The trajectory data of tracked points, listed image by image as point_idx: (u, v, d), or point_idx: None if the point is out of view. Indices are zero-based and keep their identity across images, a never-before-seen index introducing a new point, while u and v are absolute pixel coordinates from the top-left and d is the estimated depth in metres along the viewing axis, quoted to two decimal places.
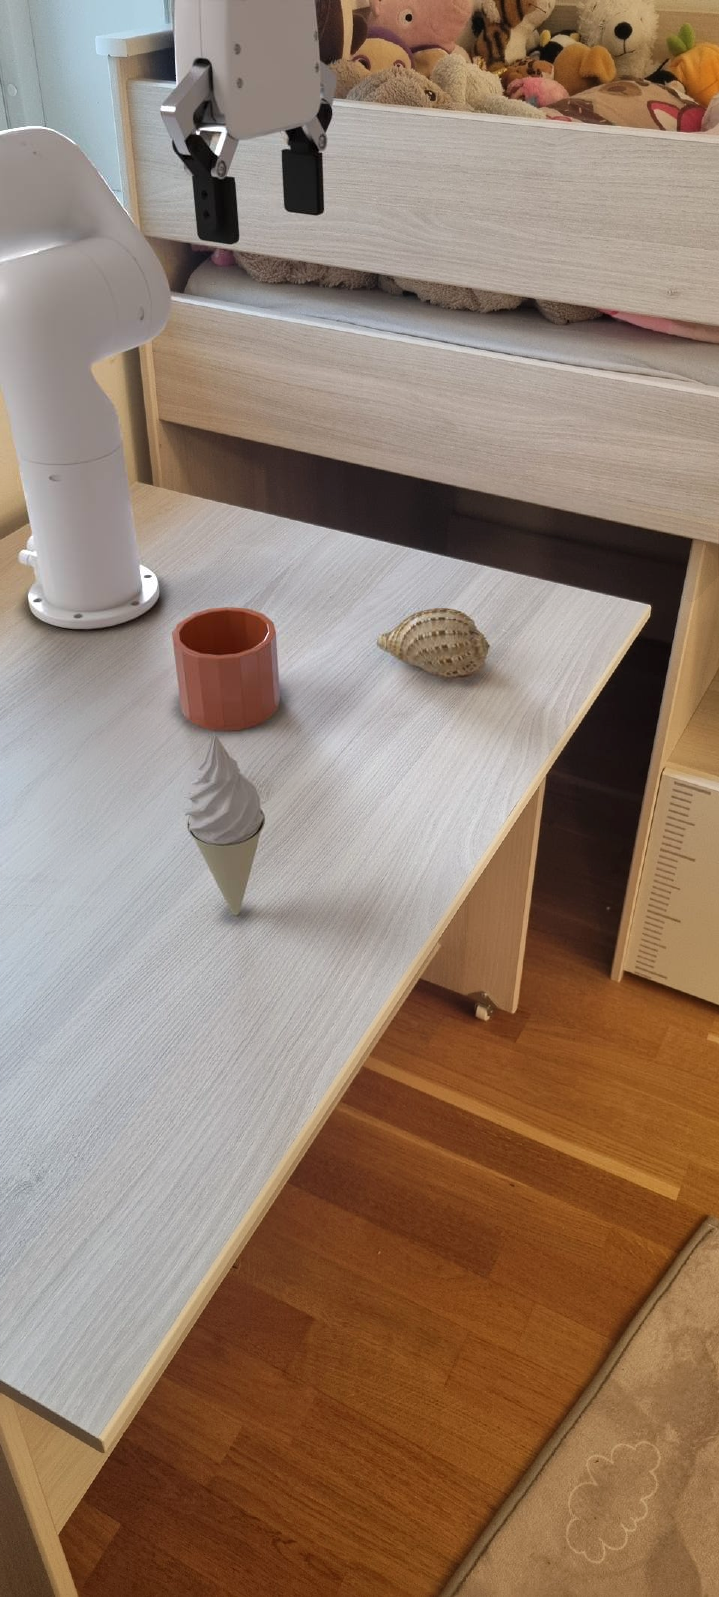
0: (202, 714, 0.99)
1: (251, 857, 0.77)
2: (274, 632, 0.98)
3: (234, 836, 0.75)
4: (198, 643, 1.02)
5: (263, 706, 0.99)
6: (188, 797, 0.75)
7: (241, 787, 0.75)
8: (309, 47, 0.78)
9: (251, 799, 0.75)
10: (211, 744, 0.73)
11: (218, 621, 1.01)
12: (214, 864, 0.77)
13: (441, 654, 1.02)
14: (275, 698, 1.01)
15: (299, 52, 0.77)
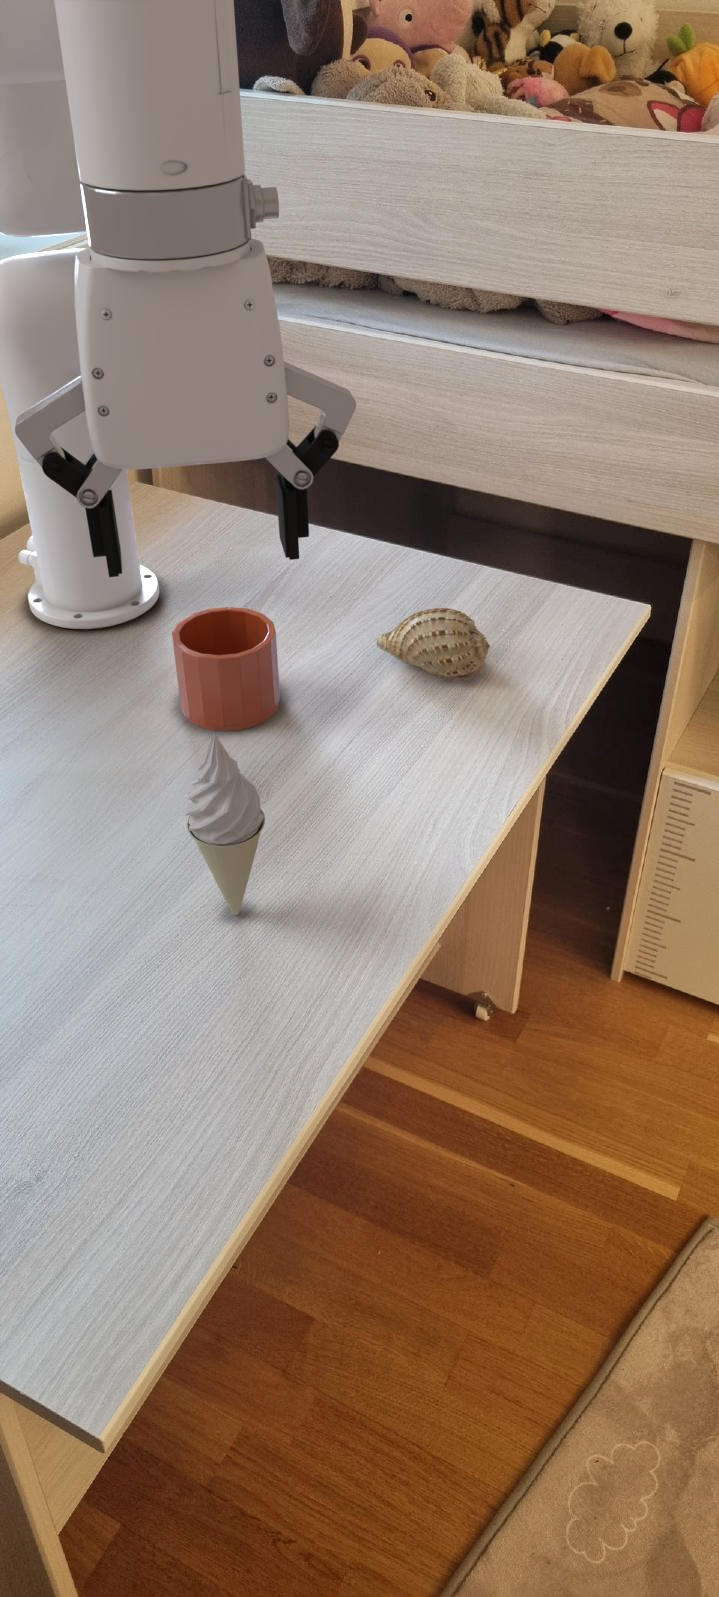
0: (202, 714, 0.99)
1: (251, 857, 0.77)
2: (274, 632, 0.98)
3: (234, 836, 0.75)
4: (198, 643, 1.02)
5: (263, 706, 0.99)
6: (188, 797, 0.75)
7: (241, 787, 0.75)
8: (250, 375, 0.58)
9: (251, 799, 0.75)
10: (211, 744, 0.73)
11: (218, 621, 1.01)
12: (214, 864, 0.77)
13: (441, 654, 1.02)
14: (275, 698, 1.01)
15: (225, 381, 0.58)
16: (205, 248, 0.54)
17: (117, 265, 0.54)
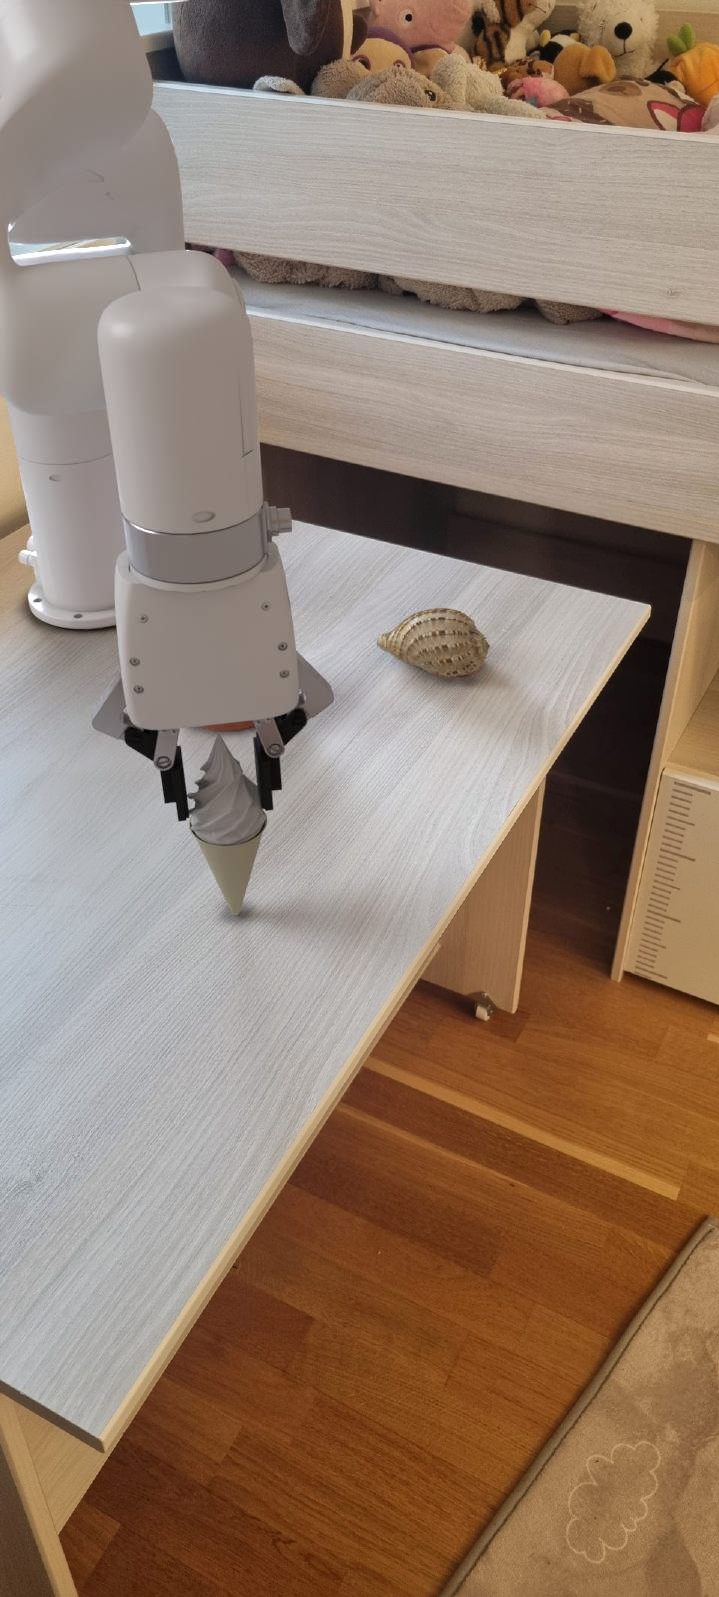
0: None
1: (253, 858, 0.77)
2: None
3: (236, 836, 0.75)
4: None
5: None
6: (191, 797, 0.75)
7: (244, 788, 0.75)
8: (266, 658, 0.67)
9: (254, 800, 0.75)
10: (215, 744, 0.73)
11: None
12: (215, 864, 0.77)
13: (441, 654, 1.02)
14: None
15: (244, 664, 0.67)
16: (229, 572, 0.62)
17: (154, 584, 0.63)
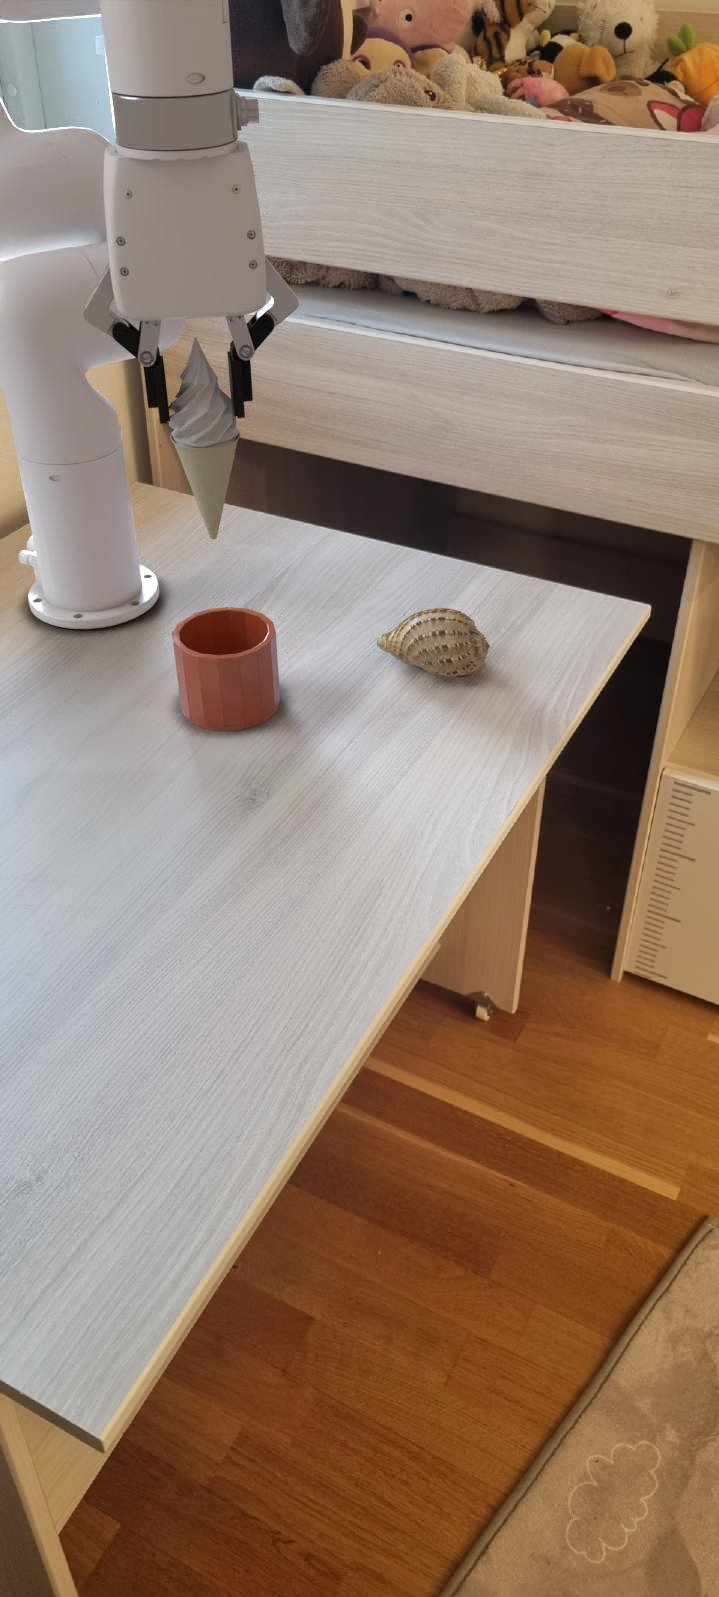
0: (202, 714, 0.99)
1: (227, 470, 0.87)
2: (274, 632, 0.98)
3: (212, 440, 0.84)
4: (198, 643, 1.02)
5: (263, 706, 0.99)
6: (171, 403, 0.84)
7: (219, 395, 0.84)
8: (237, 245, 0.77)
9: (228, 408, 0.84)
10: (192, 348, 0.82)
11: (218, 621, 1.01)
12: (194, 474, 0.86)
13: (441, 654, 1.02)
14: (275, 698, 1.01)
15: (217, 249, 0.76)
16: (203, 142, 0.72)
17: (137, 154, 0.72)
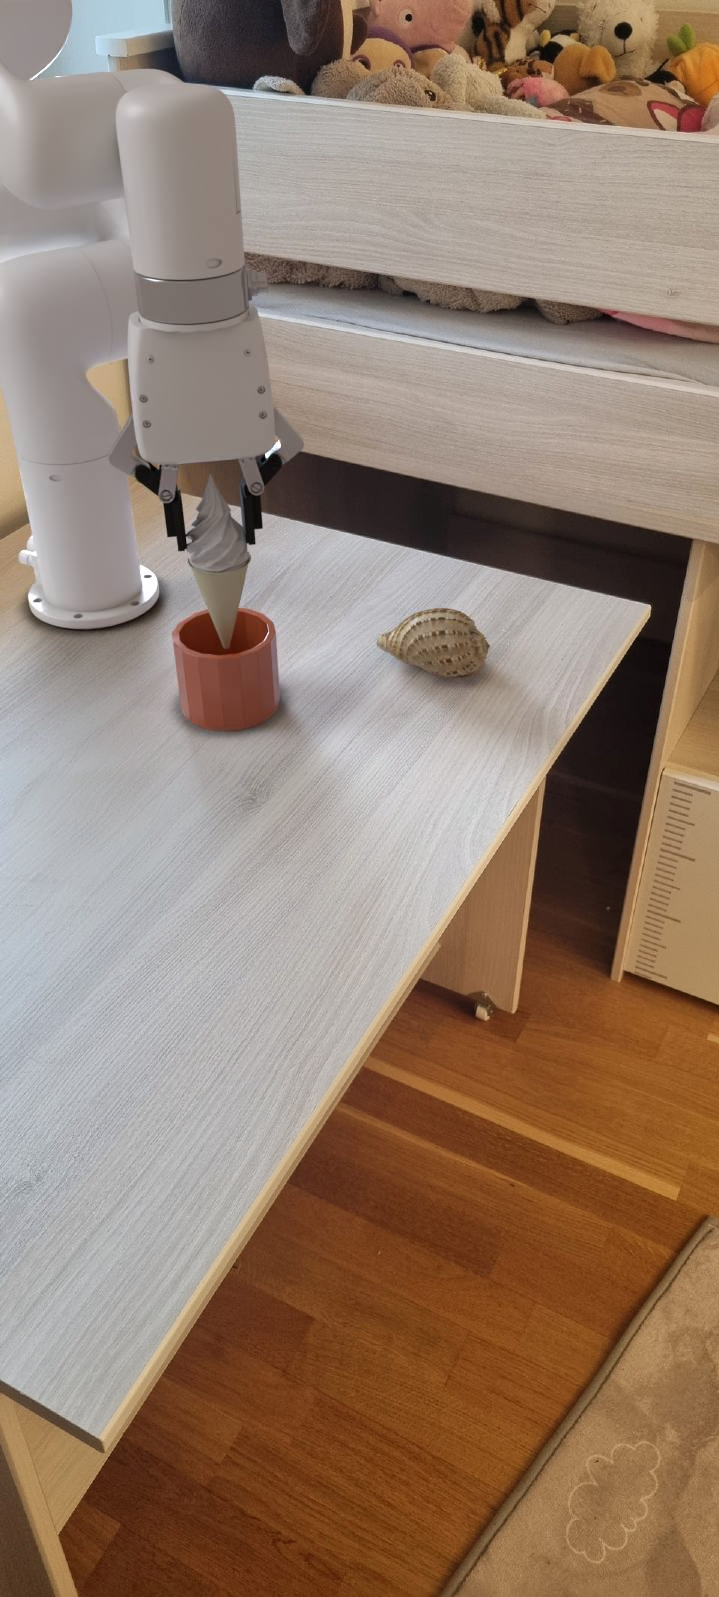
0: (202, 714, 0.99)
1: (239, 589, 0.95)
2: (274, 632, 0.98)
3: (225, 565, 0.92)
4: (198, 643, 1.02)
5: (263, 706, 0.99)
6: (188, 532, 0.92)
7: (231, 524, 0.92)
8: (248, 399, 0.85)
9: (240, 536, 0.93)
10: (207, 484, 0.90)
11: None
12: (209, 594, 0.94)
13: (441, 654, 1.02)
14: (275, 698, 1.01)
15: (230, 403, 0.84)
16: (218, 316, 0.80)
17: (159, 327, 0.80)
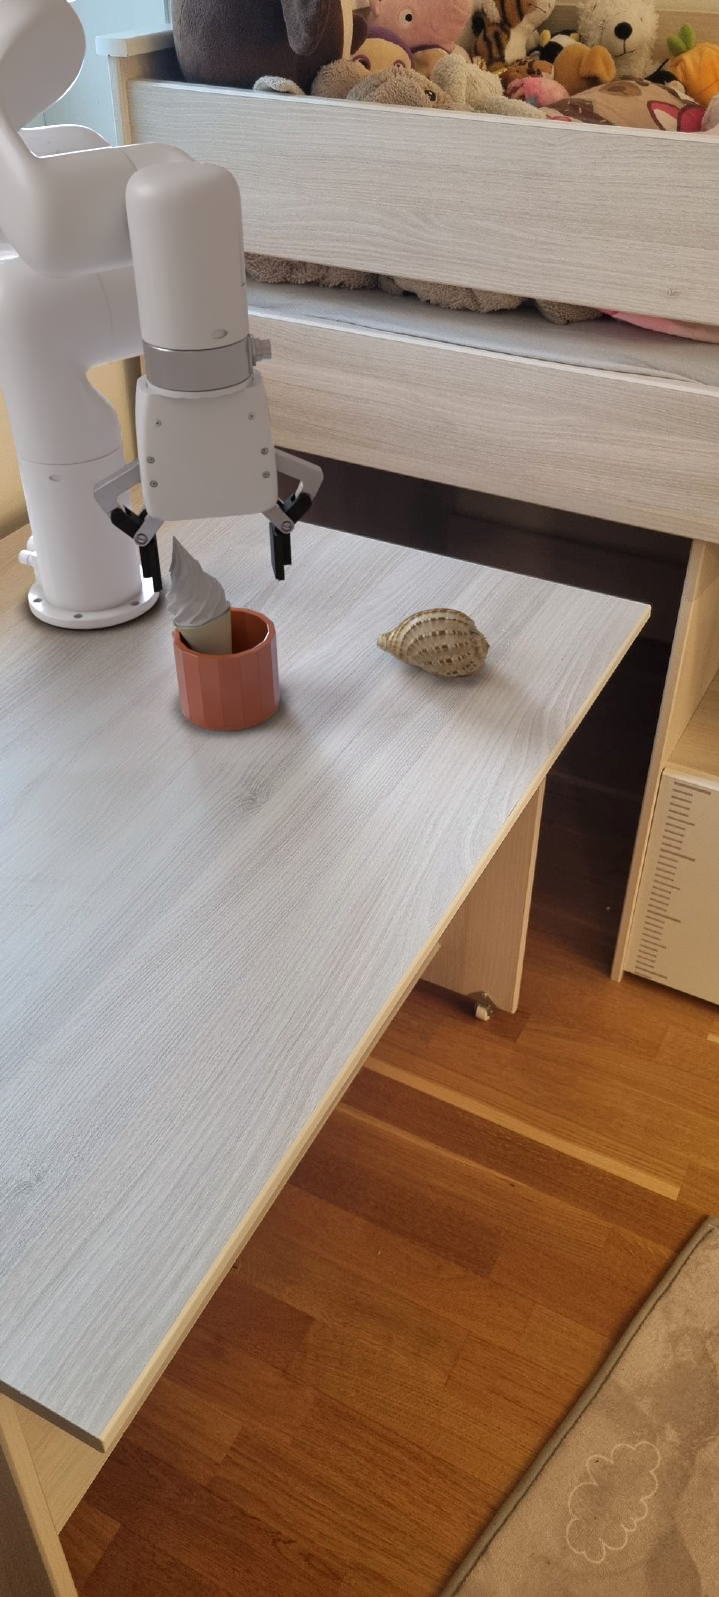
0: (202, 714, 0.99)
1: (227, 639, 0.98)
2: (274, 632, 0.98)
3: (206, 617, 0.96)
4: None
5: (263, 706, 0.99)
6: (166, 594, 0.96)
7: (204, 578, 0.95)
8: (252, 460, 0.87)
9: (215, 588, 0.96)
10: (173, 545, 0.94)
11: None
12: (198, 648, 0.98)
13: (441, 654, 1.02)
14: (275, 698, 1.01)
15: (234, 464, 0.87)
16: (223, 383, 0.83)
17: (166, 393, 0.83)
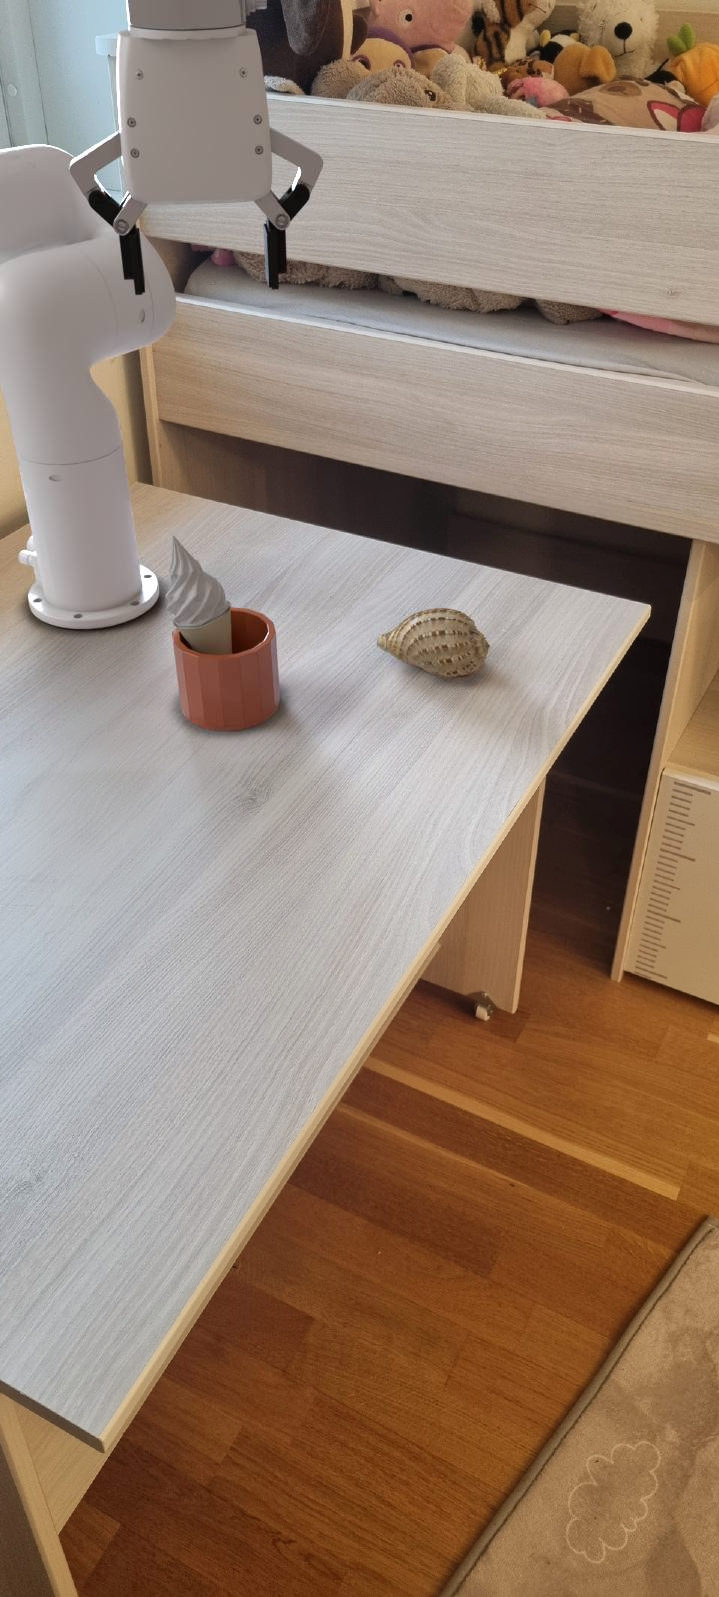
0: (202, 714, 0.99)
1: (227, 639, 0.98)
2: (274, 632, 0.98)
3: (206, 617, 0.96)
4: None
5: (263, 706, 0.99)
6: (166, 594, 0.96)
7: (204, 578, 0.96)
8: (243, 129, 0.79)
9: (215, 588, 0.96)
10: (173, 545, 0.94)
11: None
12: (198, 648, 0.98)
13: (441, 654, 1.02)
14: (275, 698, 1.01)
15: (224, 133, 0.79)
16: (211, 23, 0.74)
17: (148, 34, 0.75)
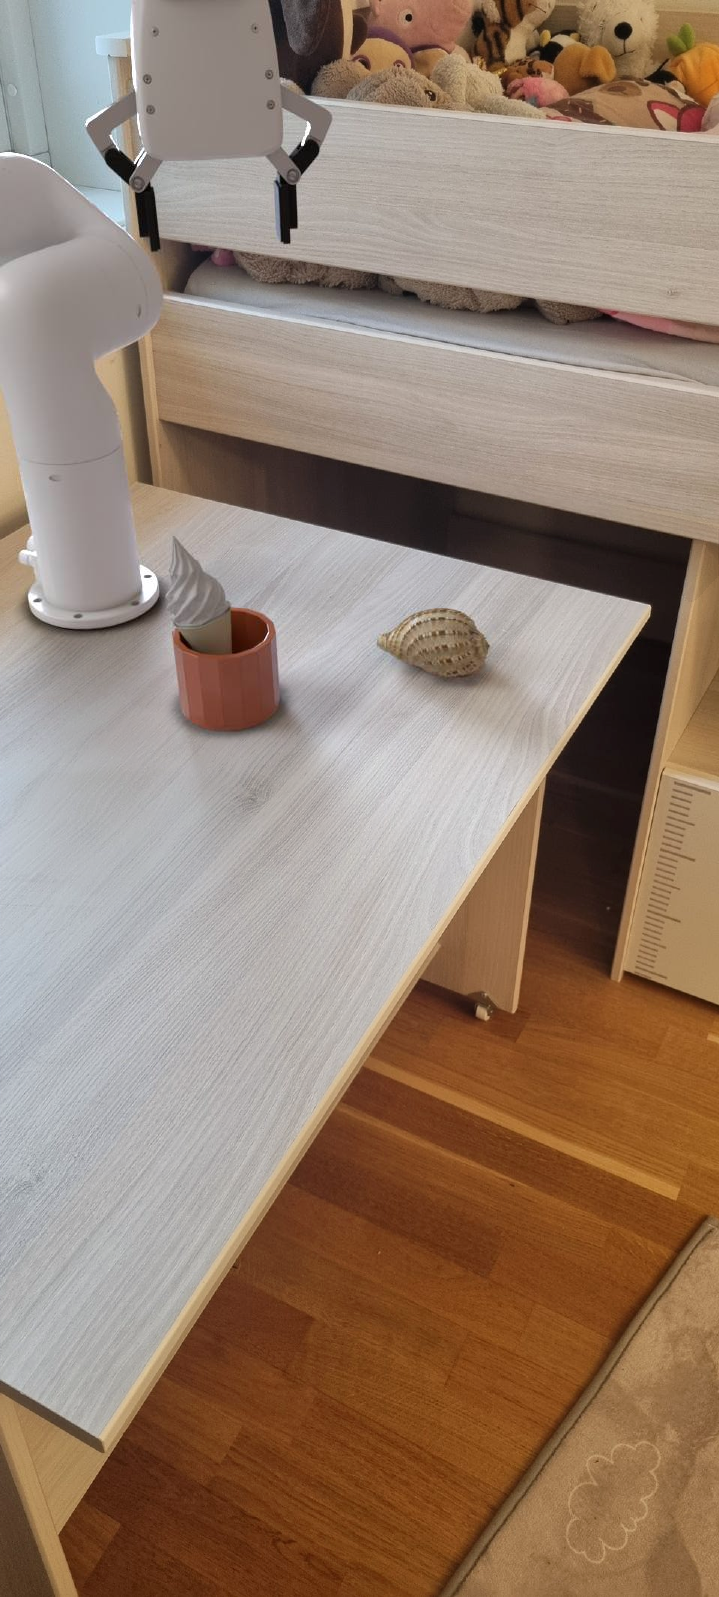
0: (202, 714, 0.99)
1: (227, 639, 0.98)
2: (274, 632, 0.98)
3: (206, 617, 0.96)
4: None
5: (263, 706, 0.99)
6: (166, 594, 0.96)
7: (204, 578, 0.96)
8: (255, 84, 0.82)
9: (215, 588, 0.96)
10: (173, 545, 0.94)
11: None
12: (198, 648, 0.98)
13: (441, 654, 1.02)
14: (275, 698, 1.01)
15: (237, 88, 0.82)
16: None
17: None
